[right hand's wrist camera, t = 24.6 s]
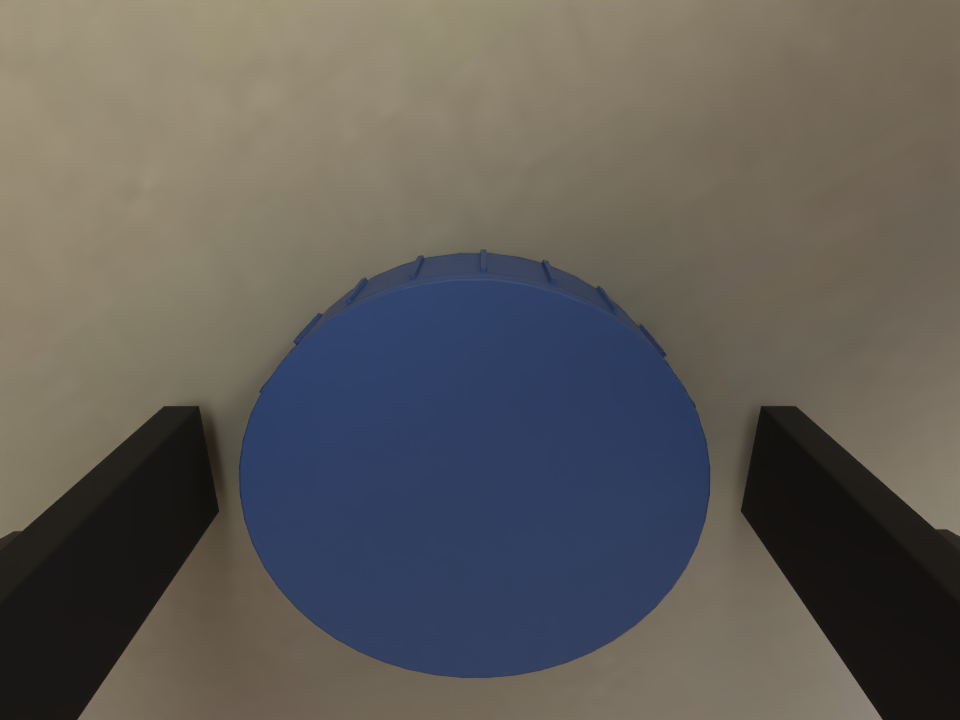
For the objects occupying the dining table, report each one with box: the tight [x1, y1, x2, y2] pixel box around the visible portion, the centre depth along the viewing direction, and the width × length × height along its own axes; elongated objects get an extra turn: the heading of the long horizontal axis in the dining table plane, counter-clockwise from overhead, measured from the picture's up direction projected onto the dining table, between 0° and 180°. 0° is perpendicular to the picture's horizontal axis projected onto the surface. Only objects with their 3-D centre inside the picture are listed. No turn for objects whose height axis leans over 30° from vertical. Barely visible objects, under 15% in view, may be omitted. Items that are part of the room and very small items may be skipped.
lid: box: [239, 250, 710, 678], centre depth 13 cm, size 9×9×2 cm
